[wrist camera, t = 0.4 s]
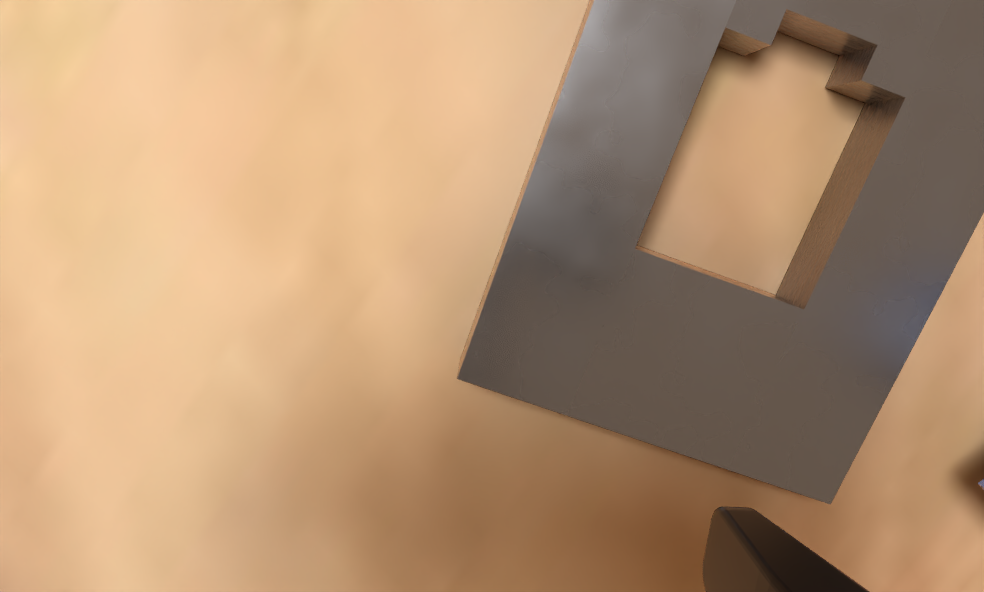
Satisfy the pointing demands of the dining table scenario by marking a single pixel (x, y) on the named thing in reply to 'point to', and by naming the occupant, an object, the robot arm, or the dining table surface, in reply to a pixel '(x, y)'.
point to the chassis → (714, 298)
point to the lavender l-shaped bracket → (981, 484)
